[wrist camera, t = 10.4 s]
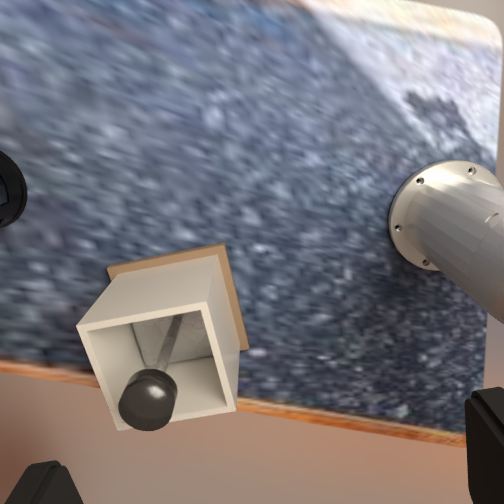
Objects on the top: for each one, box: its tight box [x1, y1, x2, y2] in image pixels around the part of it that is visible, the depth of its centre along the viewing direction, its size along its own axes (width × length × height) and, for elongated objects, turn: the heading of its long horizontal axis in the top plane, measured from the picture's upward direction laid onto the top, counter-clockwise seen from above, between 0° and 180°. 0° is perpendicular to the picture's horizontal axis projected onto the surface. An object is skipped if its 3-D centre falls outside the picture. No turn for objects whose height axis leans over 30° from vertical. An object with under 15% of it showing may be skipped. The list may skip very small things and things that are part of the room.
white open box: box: [76, 242, 250, 431], centre depth 45 cm, size 14×14×13 cm
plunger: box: [118, 310, 213, 431], centre depth 41 cm, size 10×10×15 cm
